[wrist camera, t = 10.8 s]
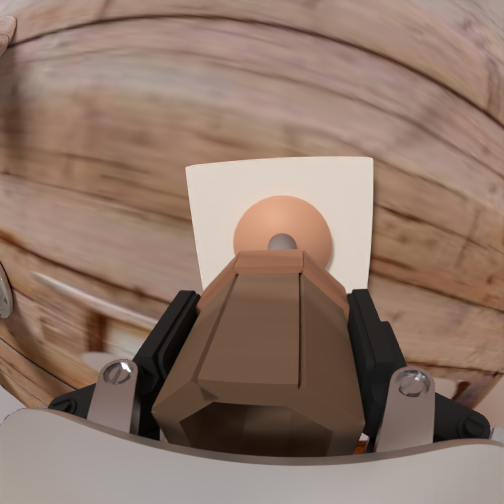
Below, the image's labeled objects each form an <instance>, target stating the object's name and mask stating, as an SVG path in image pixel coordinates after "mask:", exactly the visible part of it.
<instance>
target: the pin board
mask: <svg viewBox="0 0 504 504" xmlns="http://www.w3.org/2000/svg"><path fill="white" fill-rule="evenodd" d="M185 168H186V176H187V184H188V192H189V200H190V208H191V215H192V222H193V229H194V236H195V242H196V249H197V255H198V261H199V267H200V273H201V279H202V285H203V291H204V290H205V288H206V287H207V286H208V285H209V284H210V283H211V282H212V281H213V280H214V279H215V278H216V277H217V275H218V274H219V273H220V272H221V271H222V270H223V269H224V268H225V267H226V266H227V265H228V264H229V262H230V261H231V260H232V259H233V258H234V257H235V256H236V255H237V254H238V253H239V252H241V251H248V250H290V249H302V251H303V250H305V251H306V252H307V253H308V254H309V255H310V256H311V257H312V258H313V259H314V260H316V261H317V262H318V263H319V264H320V265H321V266H322V267H323V268H324V269H325V270H326V271H328V272H329V273H330V274H331V275H332V276H333V277H334V278H335V279H336V280H337V281H338V282H339V283H341V284H342V285H343V286H344V287H345V290H346V293H352V290H353V289H367V283H368V274H369V263H370V251H371V236H372V216H373V158H369V157H288V158H267V159H252V160H239V161H227V162H217V163H207V164H198V165H192V166H188V167H185Z"/></svg>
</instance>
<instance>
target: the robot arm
mask: <svg viewBox="0 0 504 504" xmlns="http://www.w3.org/2000/svg"><path fill="white" fill-rule="evenodd" d="M200 298H201V297H200V295H199V294H196V292H195V291H186V290H181V291H179V293H178V294H177V296H176V297H175V298H174V300H173V301H172V303H171V304H170V306H169V307H168V308H167V310H166V311H165V313H164V314H163V316H162V317H161V319H160V320H159V321H158V323H157V324H156V326H155V327H154V329H153V330H152V332H151V333H150V335H149V336H148V337H147V339H146V340H145V342H144V343H143V345H142V346H141V348H140V349H139V351H138V352H137V354H136V355H135V357H134V358H133V360H132V361H131V360H128V359H119V360H114V361H112V362H110V363H108V364H107V365H105V366H104V367H103V368H102V369H101V371H100V373H99V376H98V380H97V383H95V384H92V385H89V386H87V387H84V388H81V389H78V390H75V391H73V392H70V393H67V394H64V395H61V396H59V397H57V398H55V399H54V400H53V401H52V402H51V403H50V404H49V407H47V406H46V405H44V406H40V407H37V408H32V407H30V408H23V409H18V410H16V411H14V412H13V413H11V414H10V415H8V416H7V417H6V418H5V419H4V421H3V422H2V423H1V424H0V504H504V428H502V427H499V426H496V425H495V427H494V428H491V427H490V424H489V422H488V420H487V419H486V418H485V416H483V415H482V414H480V413H478V412H476V411H474V410H472V409H470V408H467V407H465V406H463V405H461V404H459V403H457V402H455V401H453V400H451V399H448V398H446V397H444V396H442V395H440V394H438V393H436V392H435V383H434V379H433V378H432V376H431V375H430V374H429V373H428V372H427V371H426V370H423V369H421V368H418V367H414V366H413V367H407V365H406V362H405V360H404V357H403V354H402V352H401V349H400V347H399V344H398V342H397V339H396V337H395V335H394V332H393V330H392V327H391V325H390V323H389V322H388V321H383V322H381V321H380V318H379V316H378V313H377V311H376V308H375V306H374V304H373V301H372V299H371V296H370V294H369V292H368V290H367V289H353V290H352V293H347V299H348V303H349V315H348V324H347V329H348V334H349V338H350V343H351V348H352V352H353V357H354V362H355V367H356V373H357V378H358V383H359V389H360V395H361V400H362V407H363V413H364V419H365V426H364V429H363V431H362V433H364V434H365V435H367V436H368V440H367V443H366V447H365V450H364V454H358V455H347V456H333V457H265V456H251V455H239V454H230V453H222V452H214V451H208V450H201V449H195V448H190V447H184V446H179V445H174V444H170V443H165V436H164V434H163V432H162V430H161V429H160V427H159V425H158V423H157V422H156V420H155V418H154V416H153V414H152V413H151V411H152V407H153V405H154V403H155V401H156V399H157V397H158V395H159V393H160V391H161V389H162V387H163V385H164V383H165V381H166V379H167V377H168V375H169V373H170V371H171V369H172V367H173V365H174V363H175V361H176V359H177V357H178V355H179V353H180V351H181V349H182V347H183V345H184V343H185V341H186V339H187V337H188V335H189V334H190V332H191V330H192V328H193V326H194V324H195V322H196V320H197V318H198V317H197V312H196V308H195V306H196V305H197V303H198V301H199V299H200ZM12 311H13V298H12V293H11V289H10V286H9V283H8V280H7V277H6V275H5V272H4V270H3V268H2V266H1V264H0V317H1V318H7V317H8V316H9V315H10V314H11V313H12Z"/></svg>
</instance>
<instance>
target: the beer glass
mask: <svg viewBox="0 0 504 504" xmlns="http://www.w3.org/2000/svg"><path fill="white" fill-rule="evenodd" d="M15 29H16V18H15V17H14V16H0V57H1V56H2V54H3V53H4V52H5V51H6V49H7V47H8V46H9V44H10V42H11V40H12V38H13V35H14V32H15Z"/></svg>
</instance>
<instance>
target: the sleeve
mask: <svg viewBox="0 0 504 504" xmlns="http://www.w3.org/2000/svg"><path fill="white" fill-rule="evenodd" d="M195 308H196V312H197V317H198V318H197V320H196V322H195V324H194V326H193V328H192V330H191V332H190V334H189V335H188V337H187V339H186V341H185V343H184V345H183V347H182V349H181V351H180V353H179V355H178V357H177V359H176V361H175V363H174V365H173V367H172V369H171V371H170V373H169V375H168V377H167V379H166V381H165V383H164V385H163V387H162V389H161V391H160V393H159V395H158V397H157V399H156V401H155V403H154V405H153V407H152V411H151V413H152V414H153V416H154V418H155V420H156V422H157V423H158V425H159V427H160V429H161V430H162V432H163V434H164V436H165V437H166V439H167V441H168V442H169V443H170V444H174V445H179V446H184V447H190V448H195V449H201V450H208V451H214V452H222V453H230V454H239V455H251V456H265V457H333V456H347V455H353V453H354V450H355V448H356V446H357V443H358V441H359V439H360V436H361V434H362V431H363V429H364V426H365V419H364V413H363V407H362V400H361V395H360V389H359V383H358V378H357V373H356V367H355V362H354V357H353V352H352V348H351V343H350V338H349V334H348V329H347V324H348V315H349V303H348V299H347V293H346V290H345V287H344V286H343V285H342V284H341V283H339V282H338V281H337V280H336V279H335V278H334V277H333V276H332V275H331V274H330V273H329V272H328V271H326V270H325V269H324V268H323V267H322V266H321V265H320V264H319V263H318V262H317V261H316V260H314V259H313V258H312V257H311V256H310V255H309V254H308V253H307V252H306V251H305V250H303V251H302V249H290V250H248V251H241V252H239V253H238V254H237V255H236V256H235V257H234V258H233V259H232V260H231V261H230V262H229V264H228V265H227V266H226V267H225V268H224V269H223V270H222V271H221V272H220V273H219V274H218V275H217V277H216V278H215V279H214V280H213V281H212V282H211V283H210V284H209V285H208V286H207V287H206V288H205V290H204V292H203V294H202V295H201V298H200V299H199V301H198V303H197V305H196V306H195Z"/></svg>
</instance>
